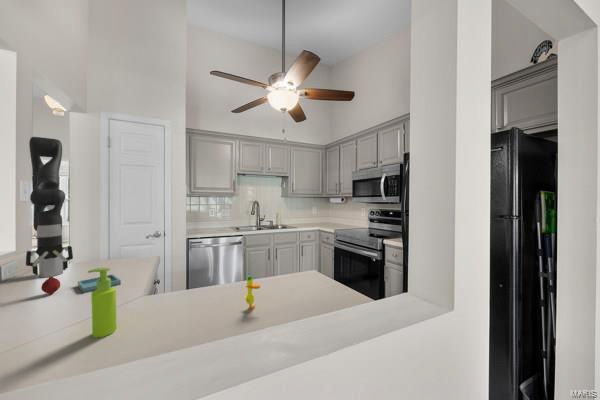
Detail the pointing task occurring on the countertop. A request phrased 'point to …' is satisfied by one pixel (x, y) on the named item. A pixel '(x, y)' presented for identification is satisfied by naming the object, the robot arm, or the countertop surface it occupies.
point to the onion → (50, 285)
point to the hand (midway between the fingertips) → (50, 272)
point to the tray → (92, 283)
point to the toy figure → (250, 291)
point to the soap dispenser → (103, 305)
